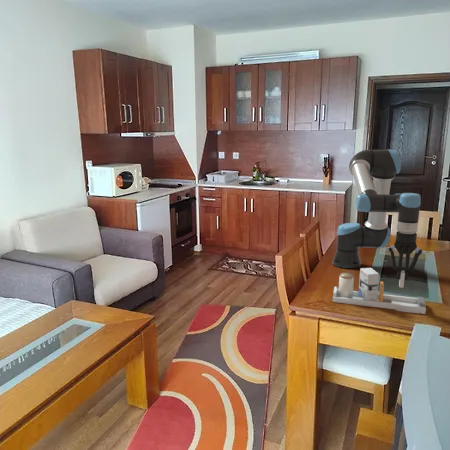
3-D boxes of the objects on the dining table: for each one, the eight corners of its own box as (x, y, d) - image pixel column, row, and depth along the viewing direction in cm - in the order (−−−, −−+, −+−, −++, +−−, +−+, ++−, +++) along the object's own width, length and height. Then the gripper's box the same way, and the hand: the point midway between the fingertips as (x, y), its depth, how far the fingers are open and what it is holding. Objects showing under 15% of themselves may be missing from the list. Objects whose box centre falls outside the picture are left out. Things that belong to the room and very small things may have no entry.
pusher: (378, 299, 172) (380, 281, 170) (390, 300, 170) (392, 282, 168) (379, 305, 165) (381, 287, 163) (391, 306, 164) (393, 288, 162)
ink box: (357, 293, 173) (359, 267, 171) (368, 292, 174) (370, 267, 171) (366, 301, 165) (368, 274, 163) (377, 300, 166) (379, 273, 163)
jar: (338, 295, 176) (339, 271, 174) (352, 296, 175) (354, 273, 172) (337, 300, 171) (339, 276, 169) (352, 302, 169) (354, 277, 167)
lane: (334, 294, 179) (334, 285, 178) (421, 304, 168) (422, 294, 167) (332, 303, 170) (333, 293, 169) (425, 314, 158) (426, 304, 158)
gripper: (390, 232, 158) (384, 288, 163) (426, 235, 154) (419, 291, 159) (388, 228, 165) (383, 281, 170) (423, 230, 161) (417, 285, 166)
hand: (401, 286), depth 165 cm, fingers closed
